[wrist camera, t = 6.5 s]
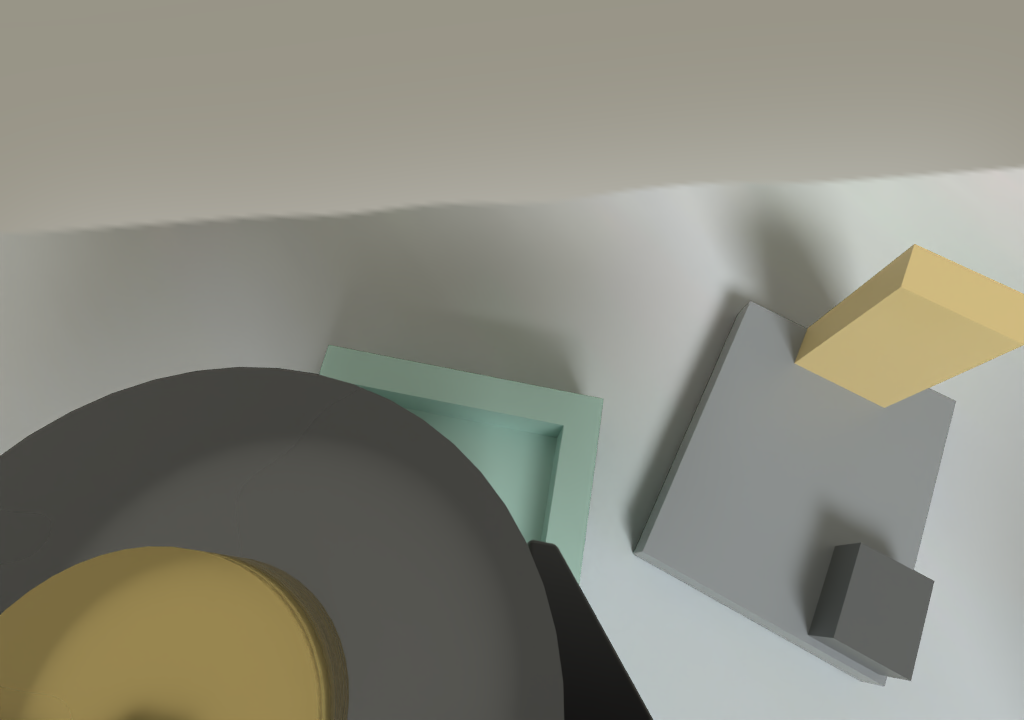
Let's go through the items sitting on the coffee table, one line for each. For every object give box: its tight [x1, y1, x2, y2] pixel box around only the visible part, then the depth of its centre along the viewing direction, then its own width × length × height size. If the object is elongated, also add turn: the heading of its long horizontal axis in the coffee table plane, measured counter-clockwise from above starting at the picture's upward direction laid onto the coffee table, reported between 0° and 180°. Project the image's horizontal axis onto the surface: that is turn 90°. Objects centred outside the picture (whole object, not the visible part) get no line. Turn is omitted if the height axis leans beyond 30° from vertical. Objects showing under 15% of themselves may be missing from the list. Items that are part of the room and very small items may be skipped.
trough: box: [319, 345, 603, 584], centre depth 15 cm, size 13×8×2 cm, turn 170°
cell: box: [0, 367, 564, 720], centre depth 8 cm, size 4×4×12 cm
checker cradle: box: [633, 244, 1024, 686], centre depth 16 cm, size 9×7×6 cm
